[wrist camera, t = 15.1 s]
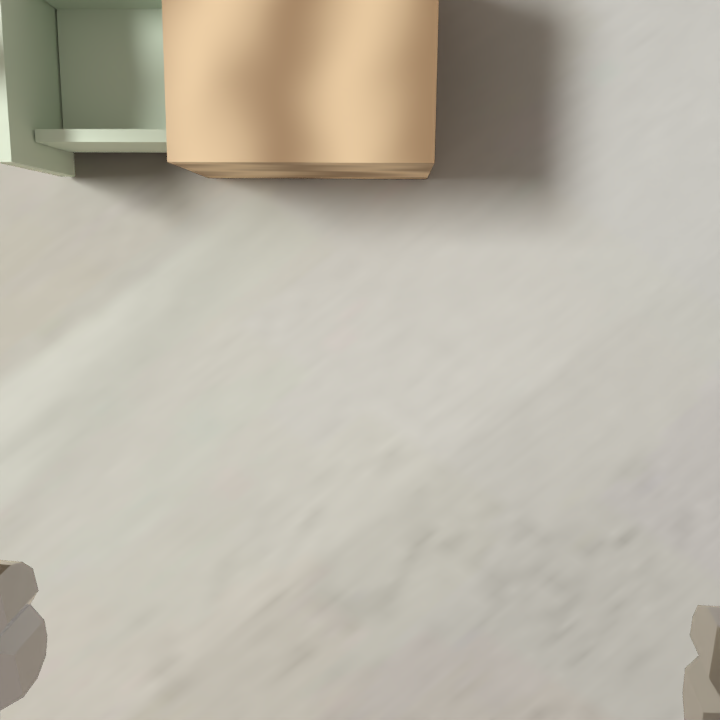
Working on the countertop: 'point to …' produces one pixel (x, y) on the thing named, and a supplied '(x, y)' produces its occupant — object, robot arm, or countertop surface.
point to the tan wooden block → (301, 87)
